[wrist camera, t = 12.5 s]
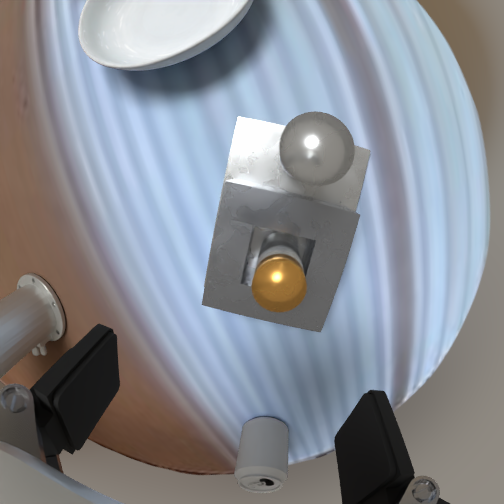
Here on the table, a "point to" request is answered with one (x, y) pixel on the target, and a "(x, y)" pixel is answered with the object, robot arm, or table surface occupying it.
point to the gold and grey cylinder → (279, 274)
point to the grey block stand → (286, 212)
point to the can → (262, 455)
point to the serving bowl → (155, 30)
